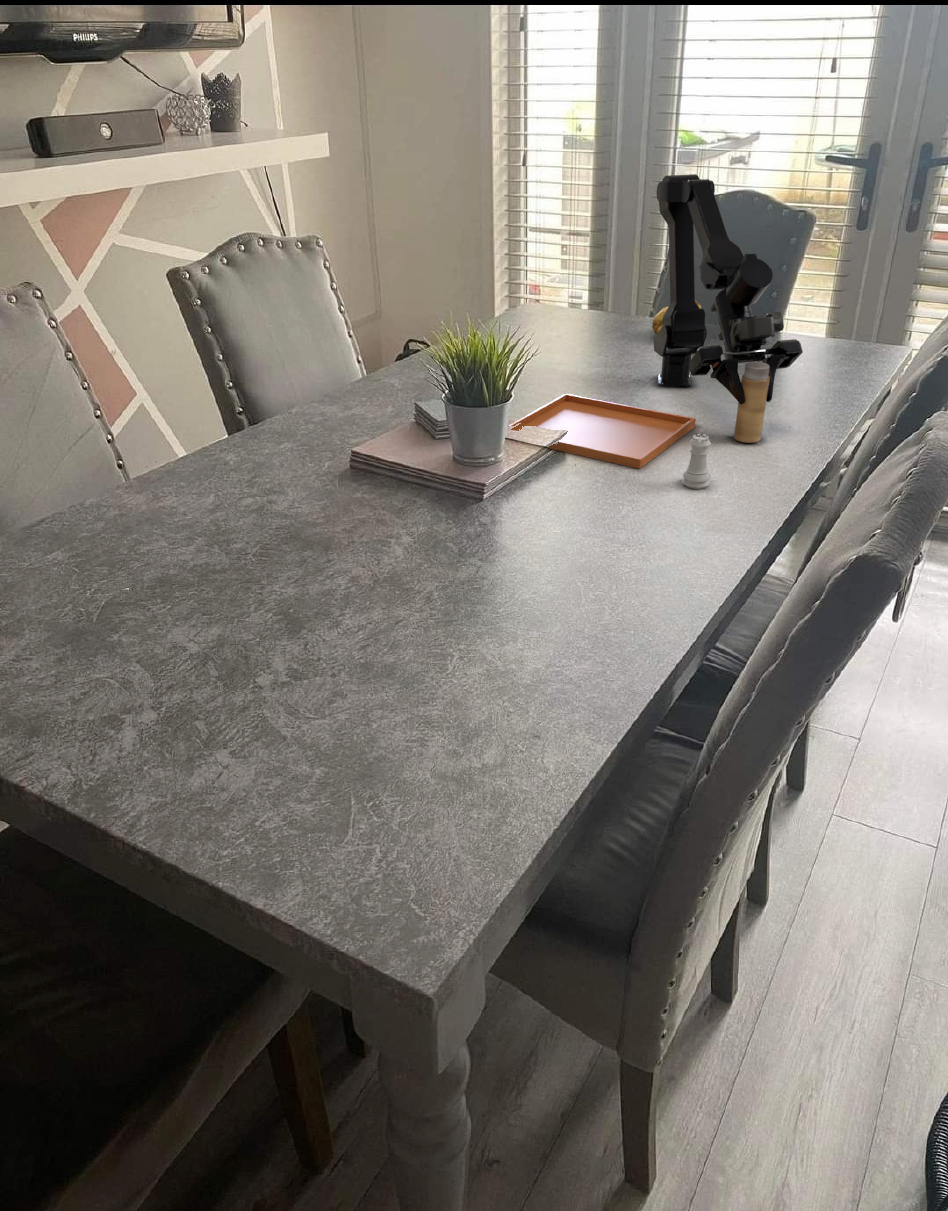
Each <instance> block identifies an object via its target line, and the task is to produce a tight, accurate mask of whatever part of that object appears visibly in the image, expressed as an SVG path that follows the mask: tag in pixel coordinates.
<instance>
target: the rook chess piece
mask: <svg viewBox="0 0 948 1211" xmlns="http://www.w3.org/2000/svg"><path fill="white" fill-rule="evenodd" d="M689 444H690V445H691V449H690V450H689V452H690V459H689V463H688V465H687V467H686V468H685V471H683V474H682V477H683V478H682V479H681V482H682V484H683V485H684V487H685V488H687V489H688V488H689V489H693V490H702V489H706V488H707V487H708V486H710V484H711V481H710V479H711V474H710V473H709V469H708V464H707V456H708V454H709V451H708V448H709V447H710V446H711V444H712V442H711V441H710V436H709V435H707V434H705V433H704V434H702V436H701V433H696V434H693V435H692V438H691V439H690V440H689Z"/></svg>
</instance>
